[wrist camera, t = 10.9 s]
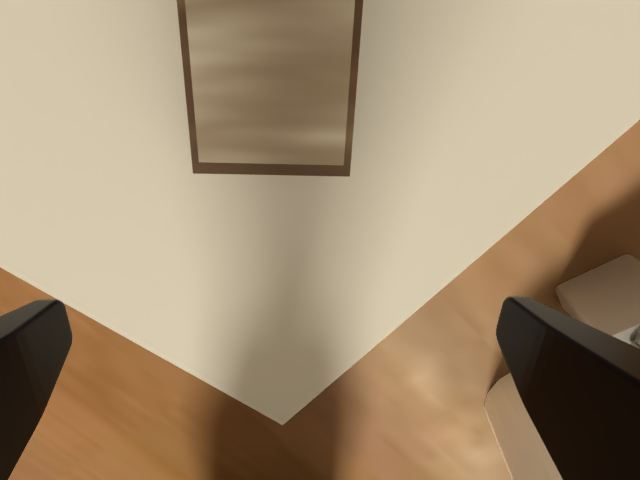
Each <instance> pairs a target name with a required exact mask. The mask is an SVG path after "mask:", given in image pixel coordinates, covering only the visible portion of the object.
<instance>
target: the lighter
mask: <svg viewBox="0 0 640 480" xmlns="http://www.w3.org/2000/svg"><path fill="white" fill-rule="evenodd" d="M555 290H556V293H557V295H558V298H559V301H560V304H561V307H562V308H563V309H564V310H565V311H566V312H567V313H568V314H569V315H570V316H571V317H572V318H574V319H576V320H578V321H581V322H583V323H585V324H587V325H589V326H591V327H594V328H596V329H598V330H600V331H602V332H605V333H607V334H609V335H611V336H613V337H615V338H618V339H620V340H622V341H624V342H626V343H628V344H631V345H633V346H635V347H637V348H639V349H640V261H639V260H638V259H636V258H635V257H633V256H632V255H630V254H624V255H622V256H620V257H618V258H616V259H613V260H611V261H609V262H607V263H605V264H603V265H600V266H598V267H596V268H594V269H592V270H590V271H587V272H585V273H583V274H581V275H579V276H577V277H574V278H572V279H570V280H568V281H566V282H564V283H561V284H559V285H557V287H556V289H555Z"/></svg>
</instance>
